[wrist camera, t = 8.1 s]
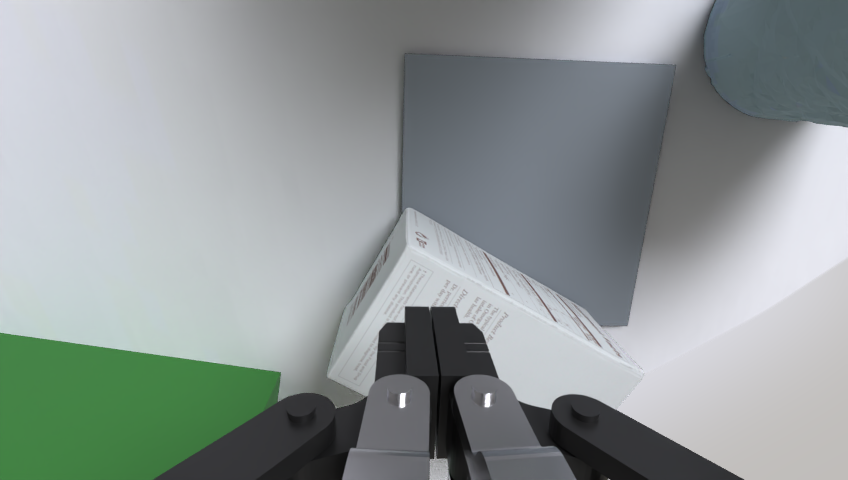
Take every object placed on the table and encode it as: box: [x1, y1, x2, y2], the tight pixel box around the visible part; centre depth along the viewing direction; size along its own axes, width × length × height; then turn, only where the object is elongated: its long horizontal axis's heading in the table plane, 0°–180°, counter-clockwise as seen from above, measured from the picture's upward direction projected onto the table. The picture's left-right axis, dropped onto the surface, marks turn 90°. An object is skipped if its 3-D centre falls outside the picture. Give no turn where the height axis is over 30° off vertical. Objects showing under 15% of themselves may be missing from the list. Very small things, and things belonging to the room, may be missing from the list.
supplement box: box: [327, 208, 644, 410], centre depth 23 cm, size 7×7×13 cm
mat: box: [402, 53, 676, 326], centre depth 25 cm, size 15×14×1 cm
